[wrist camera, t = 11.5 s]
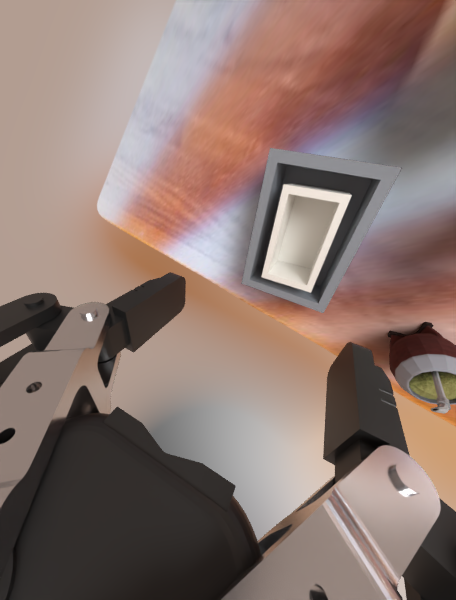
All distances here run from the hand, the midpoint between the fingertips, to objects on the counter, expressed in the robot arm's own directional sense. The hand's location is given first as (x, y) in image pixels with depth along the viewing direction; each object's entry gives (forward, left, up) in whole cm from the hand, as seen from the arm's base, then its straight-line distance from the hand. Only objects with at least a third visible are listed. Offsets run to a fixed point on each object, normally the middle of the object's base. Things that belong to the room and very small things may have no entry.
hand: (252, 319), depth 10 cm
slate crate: (0, 0, -22) cm, 22 cm away
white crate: (0, 0, -21) cm, 21 cm away
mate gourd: (+10, +18, -22) cm, 30 cm away
